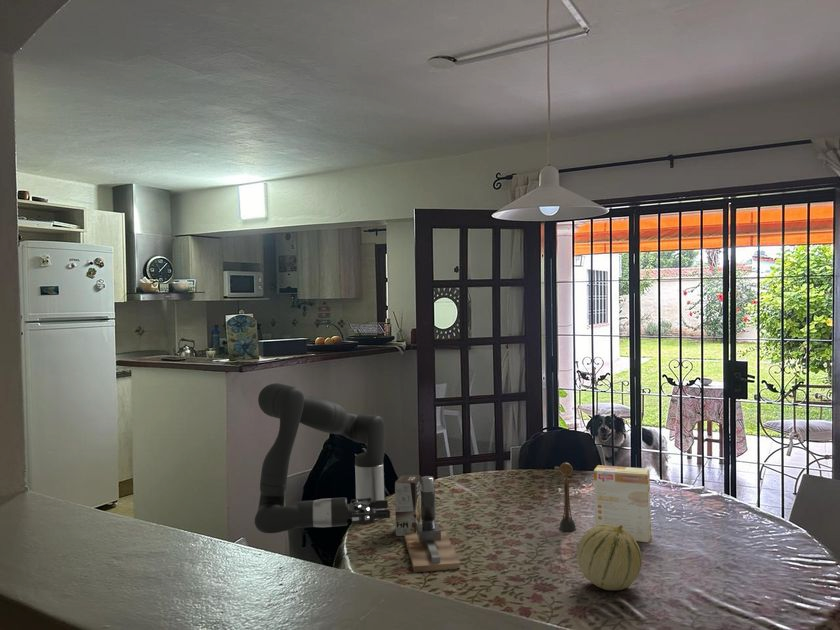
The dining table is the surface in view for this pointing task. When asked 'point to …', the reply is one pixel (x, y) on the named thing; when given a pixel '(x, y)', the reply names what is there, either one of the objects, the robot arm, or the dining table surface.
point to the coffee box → (407, 504)
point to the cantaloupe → (609, 557)
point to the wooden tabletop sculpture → (566, 499)
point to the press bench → (425, 558)
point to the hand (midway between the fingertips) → (388, 508)
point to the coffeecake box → (623, 499)
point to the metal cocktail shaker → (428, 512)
